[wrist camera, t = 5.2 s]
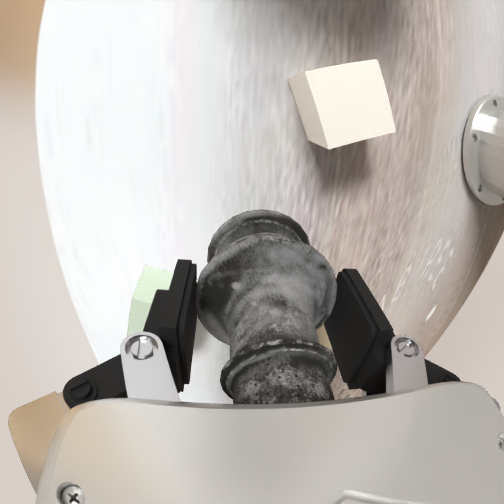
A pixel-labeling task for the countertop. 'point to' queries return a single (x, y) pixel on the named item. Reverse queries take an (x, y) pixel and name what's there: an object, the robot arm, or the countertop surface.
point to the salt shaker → (268, 309)
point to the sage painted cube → (146, 296)
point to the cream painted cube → (343, 103)
